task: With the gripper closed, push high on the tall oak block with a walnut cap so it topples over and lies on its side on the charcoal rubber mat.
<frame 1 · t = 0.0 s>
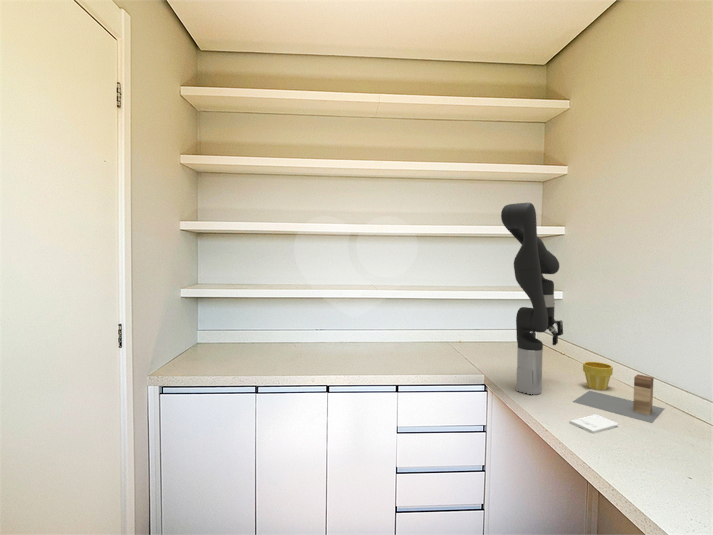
hand: (543, 343, 167), 17 cm above the countertop, tool pointing down, fingers open, 8 cm apart
mat: (617, 406, 143), on the countertop
plant pot: (596, 388, 162), on the countertop
block: (642, 411, 137), point 1 cm above the countertop, touching mat
external hard drive: (593, 427, 128), on the countertop
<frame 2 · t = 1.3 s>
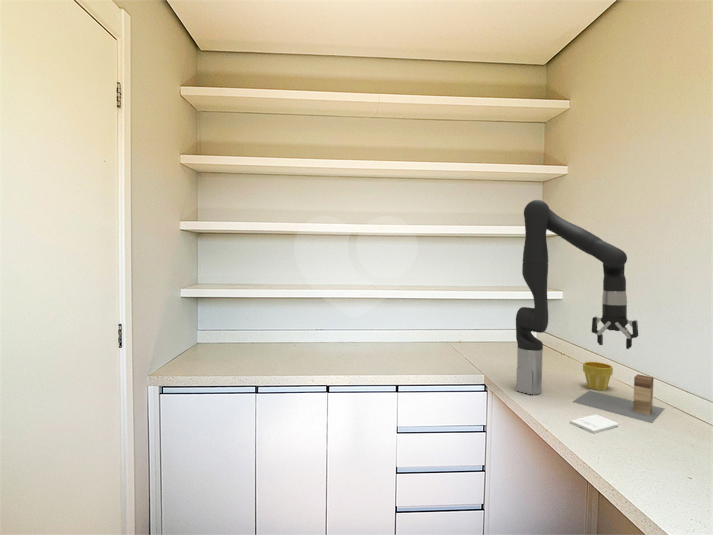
hand: (614, 346, 146), 21 cm above the countertop, tool pointing down, fingers open, 8 cm apart
nothing on the countertop moved.
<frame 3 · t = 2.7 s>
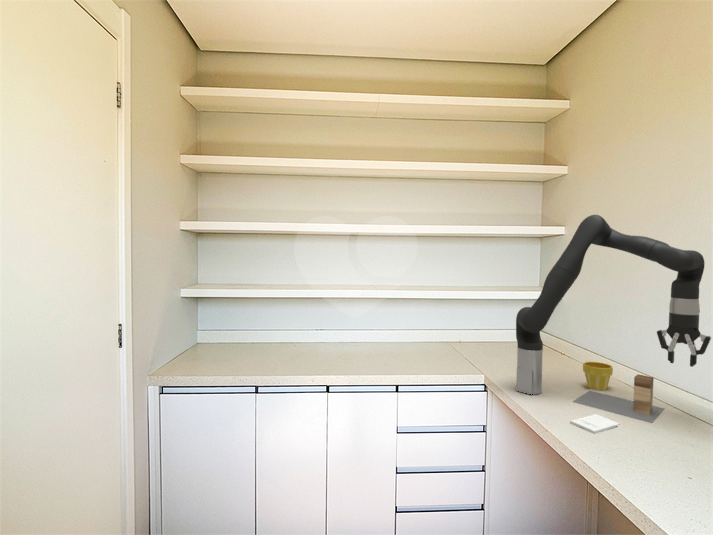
hand: (681, 364, 129), 19 cm above the countertop, tool pointing down, fingers open, 4 cm apart
nothing on the countertop moved.
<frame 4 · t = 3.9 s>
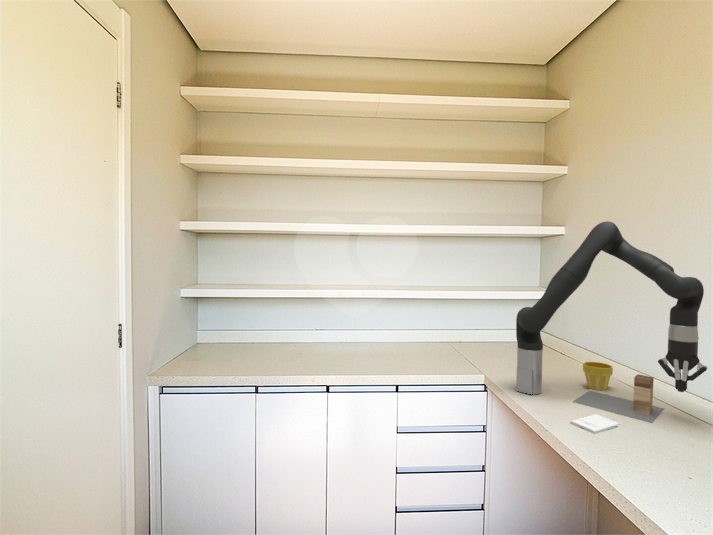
hand: (681, 391, 129), 10 cm above the countertop, tool pointing down, fingers closed
nothing on the countertop moved.
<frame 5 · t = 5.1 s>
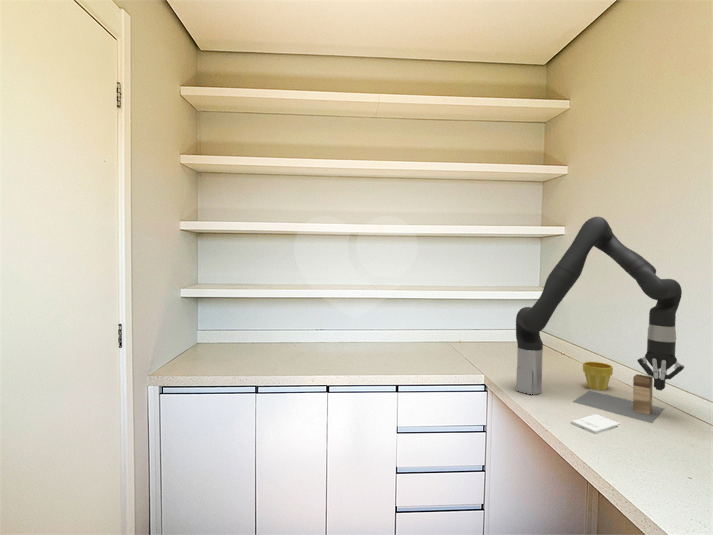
hand: (659, 389, 133), 9 cm above the countertop, tool pointing down, fingers closed
block: (642, 411, 137), point 1 cm above the countertop, touching gripper, mat
everything else where it was.
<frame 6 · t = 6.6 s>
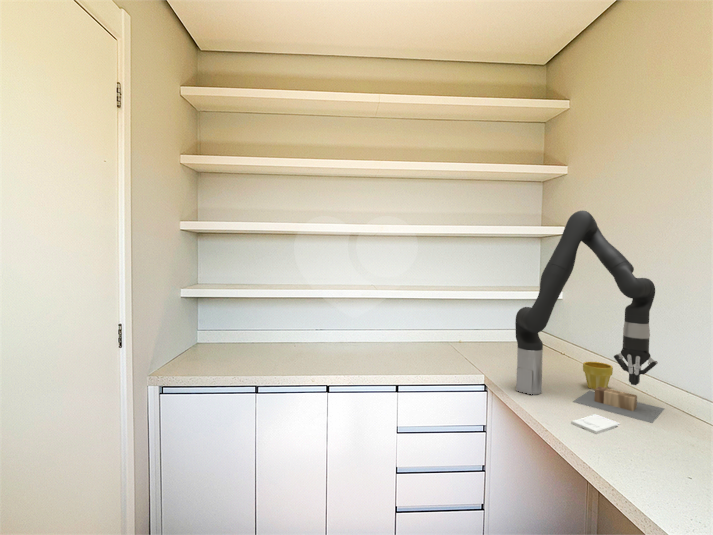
hand: (634, 384, 139), 9 cm above the countertop, tool pointing down, fingers closed
block: (635, 403, 139), point 3 cm above the countertop, tilted 90°, touching mat
everything else where it was.
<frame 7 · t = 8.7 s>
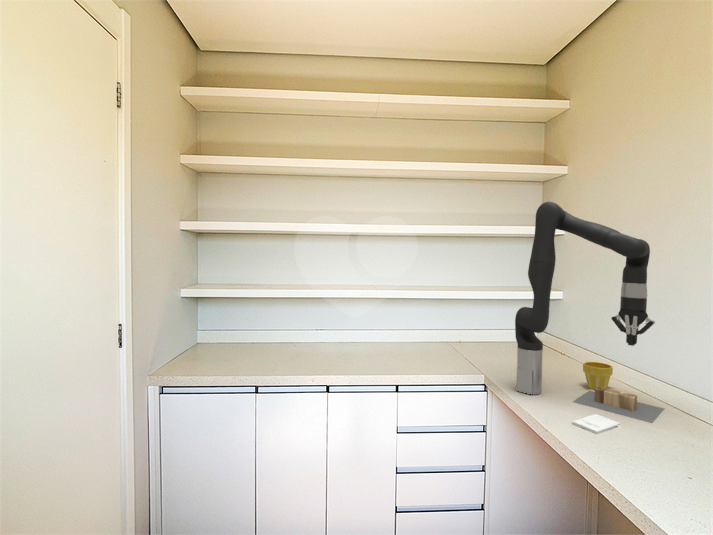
hand: (631, 345, 139), 23 cm above the countertop, tool pointing down, fingers closed
nothing on the countertop moved.
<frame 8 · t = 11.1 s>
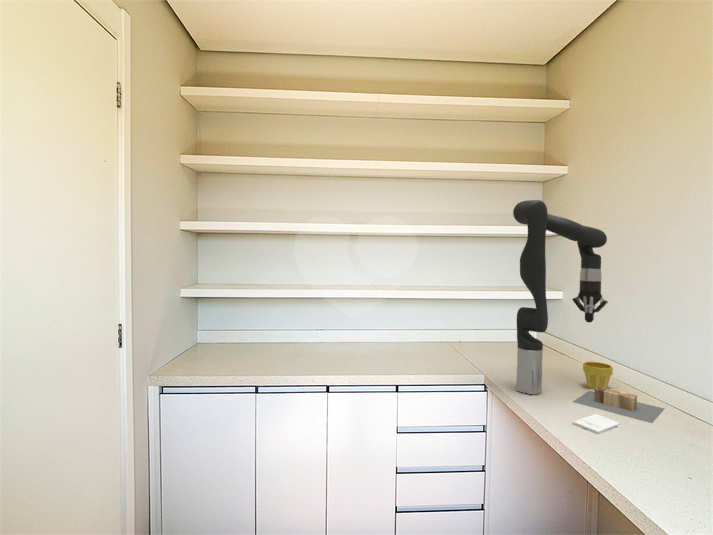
hand: (589, 322, 162), 27 cm above the countertop, tool pointing down, fingers closed
nothing on the countertop moved.
at the end: block tilted 90°; block inside the target area (0.7 cm from its centre), point 2.8 cm above the countertop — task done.
